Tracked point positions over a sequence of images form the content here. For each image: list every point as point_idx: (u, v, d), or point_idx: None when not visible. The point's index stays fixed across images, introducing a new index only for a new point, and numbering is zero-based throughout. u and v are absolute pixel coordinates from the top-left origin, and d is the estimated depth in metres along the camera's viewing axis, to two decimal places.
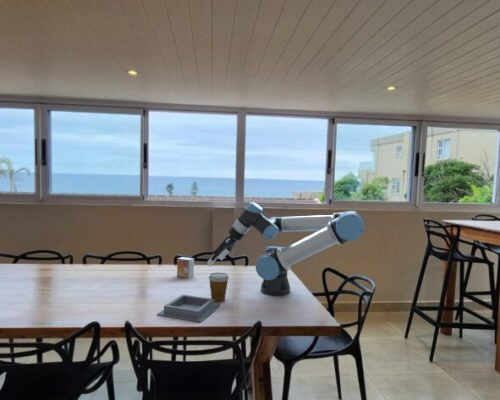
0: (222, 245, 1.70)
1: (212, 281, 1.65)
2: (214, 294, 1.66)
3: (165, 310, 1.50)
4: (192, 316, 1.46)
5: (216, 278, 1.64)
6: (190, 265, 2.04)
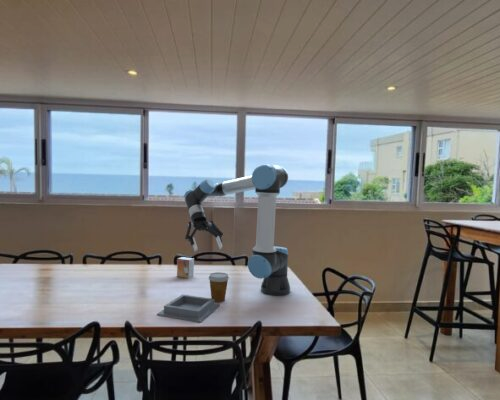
0: (187, 229, 1.80)
1: (212, 281, 1.65)
2: (214, 294, 1.66)
3: (165, 310, 1.50)
4: (192, 316, 1.46)
5: (216, 278, 1.64)
6: (190, 265, 2.04)
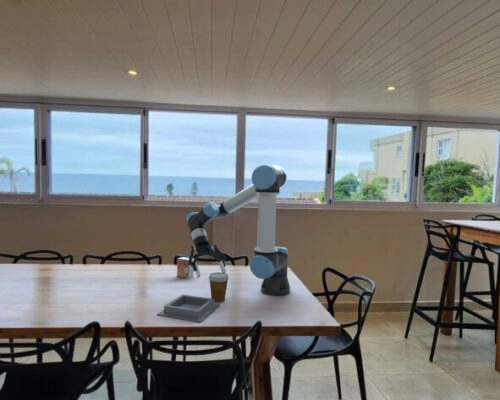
0: (190, 254, 1.76)
1: (212, 281, 1.65)
2: (214, 294, 1.66)
3: (165, 310, 1.50)
4: (192, 316, 1.46)
5: (216, 278, 1.64)
6: (190, 265, 2.04)
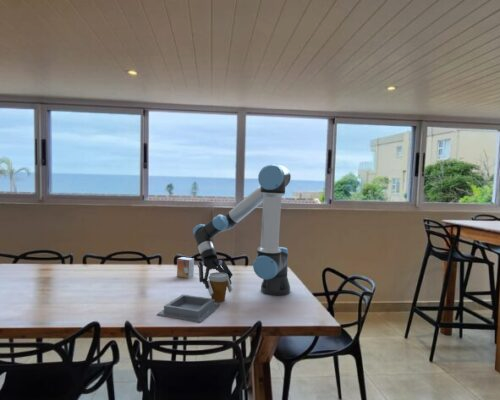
0: (199, 270, 1.70)
1: (212, 281, 1.65)
2: (214, 294, 1.66)
3: (165, 310, 1.50)
4: (192, 316, 1.46)
5: (216, 278, 1.64)
6: (190, 265, 2.04)
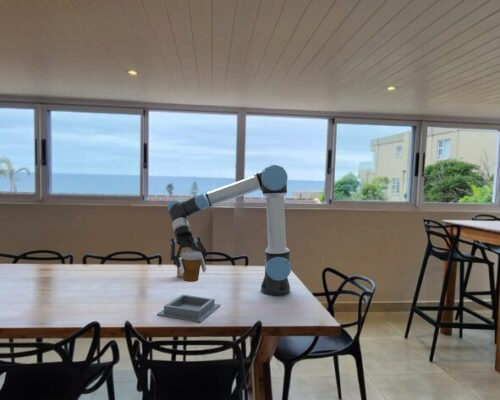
0: (171, 248, 1.56)
1: (184, 259, 1.52)
2: (186, 273, 1.52)
3: (165, 310, 1.50)
4: (192, 316, 1.46)
5: (188, 256, 1.51)
6: None
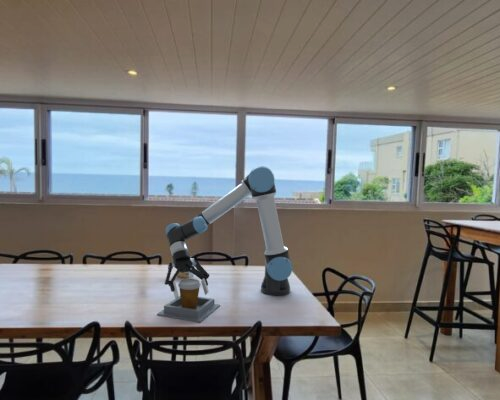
0: None
1: (182, 289, 1.51)
2: (184, 302, 1.51)
3: (165, 310, 1.50)
4: (192, 316, 1.46)
5: (186, 285, 1.50)
6: None
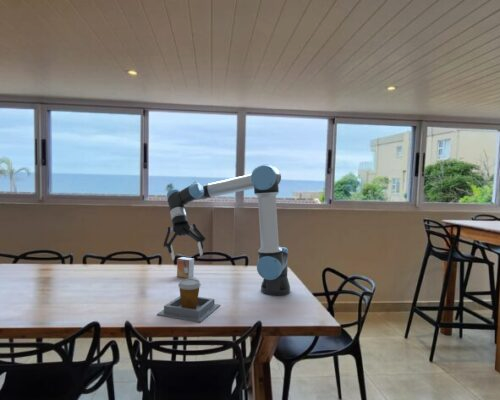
0: (166, 235, 1.71)
1: (182, 289, 1.51)
2: (184, 303, 1.51)
3: (165, 310, 1.50)
4: (192, 316, 1.46)
5: (186, 285, 1.50)
6: (190, 265, 2.04)
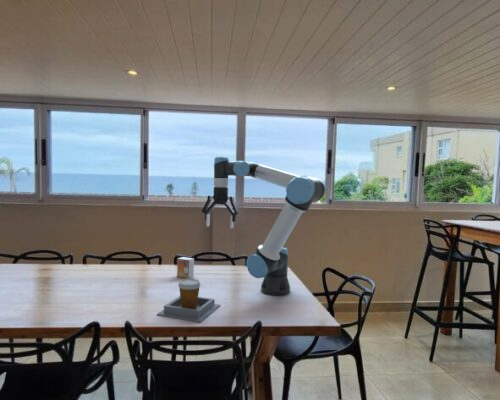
0: None
1: (182, 289, 1.51)
2: (184, 303, 1.51)
3: (165, 310, 1.50)
4: (192, 316, 1.46)
5: (186, 285, 1.50)
6: (190, 265, 2.04)
